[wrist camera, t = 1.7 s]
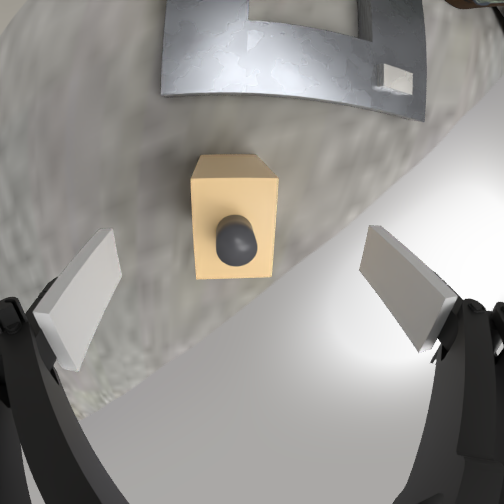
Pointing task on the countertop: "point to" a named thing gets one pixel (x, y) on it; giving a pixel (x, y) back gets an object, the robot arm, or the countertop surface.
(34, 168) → the countertop surface
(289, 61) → the socket plate
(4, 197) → the countertop surface
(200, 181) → the plug
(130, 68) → the countertop surface
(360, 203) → the countertop surface
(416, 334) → the robot arm
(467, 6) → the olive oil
